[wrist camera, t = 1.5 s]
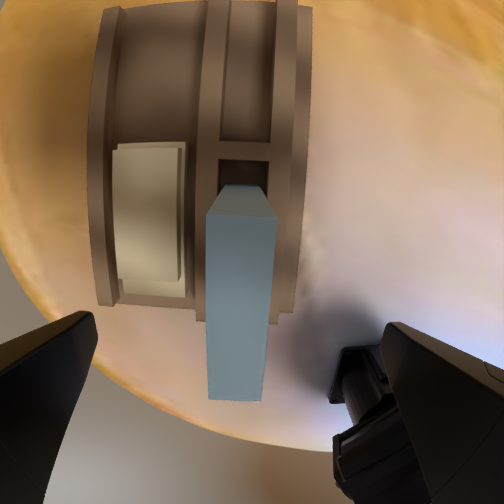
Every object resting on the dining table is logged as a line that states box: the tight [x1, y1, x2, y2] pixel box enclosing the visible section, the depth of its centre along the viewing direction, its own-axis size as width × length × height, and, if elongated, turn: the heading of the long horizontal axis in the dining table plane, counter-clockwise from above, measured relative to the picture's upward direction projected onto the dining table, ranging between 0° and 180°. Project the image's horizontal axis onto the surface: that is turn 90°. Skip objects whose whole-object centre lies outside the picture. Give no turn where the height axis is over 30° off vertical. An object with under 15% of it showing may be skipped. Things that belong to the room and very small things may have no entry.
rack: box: [87, 0, 312, 324], centre depth 18 cm, size 22×14×4 cm, turn 177°
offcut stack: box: [112, 142, 189, 298], centre depth 19 cm, size 10×4×2 cm, turn 177°
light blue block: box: [206, 182, 277, 401], centre depth 15 cm, size 7×2×11 cm, turn 177°
